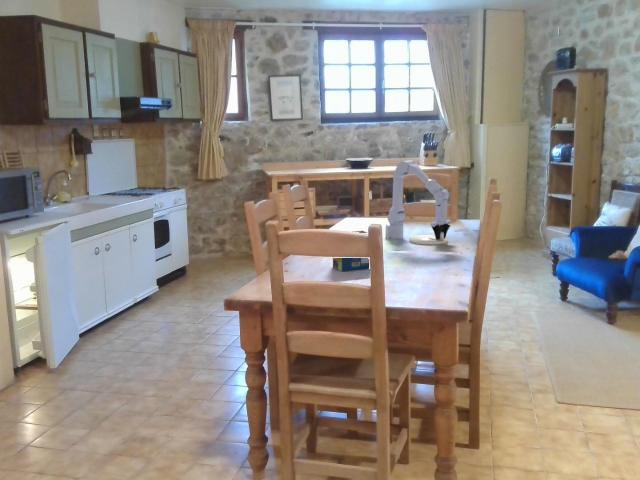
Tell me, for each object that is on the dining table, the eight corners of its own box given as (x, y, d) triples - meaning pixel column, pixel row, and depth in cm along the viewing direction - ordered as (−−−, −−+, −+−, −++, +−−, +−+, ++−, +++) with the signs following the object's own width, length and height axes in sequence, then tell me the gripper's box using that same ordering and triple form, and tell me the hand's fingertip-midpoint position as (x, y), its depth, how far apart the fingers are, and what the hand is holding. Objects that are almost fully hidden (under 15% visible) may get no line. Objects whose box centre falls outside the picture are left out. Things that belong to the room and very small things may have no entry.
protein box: (332, 266, 273) (332, 233, 270) (363, 263, 278) (363, 230, 275) (341, 272, 263) (341, 236, 260) (373, 268, 268) (373, 234, 266)
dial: (401, 241, 323) (401, 229, 322) (426, 236, 336) (426, 225, 335) (430, 246, 308) (430, 234, 307) (455, 241, 320) (455, 230, 319)
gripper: (438, 215, 305) (438, 241, 308) (456, 212, 315) (455, 237, 317) (427, 213, 311) (427, 239, 313) (444, 210, 320) (444, 236, 323)
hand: (440, 238), depth 316 cm, fingers open, 4 cm apart
